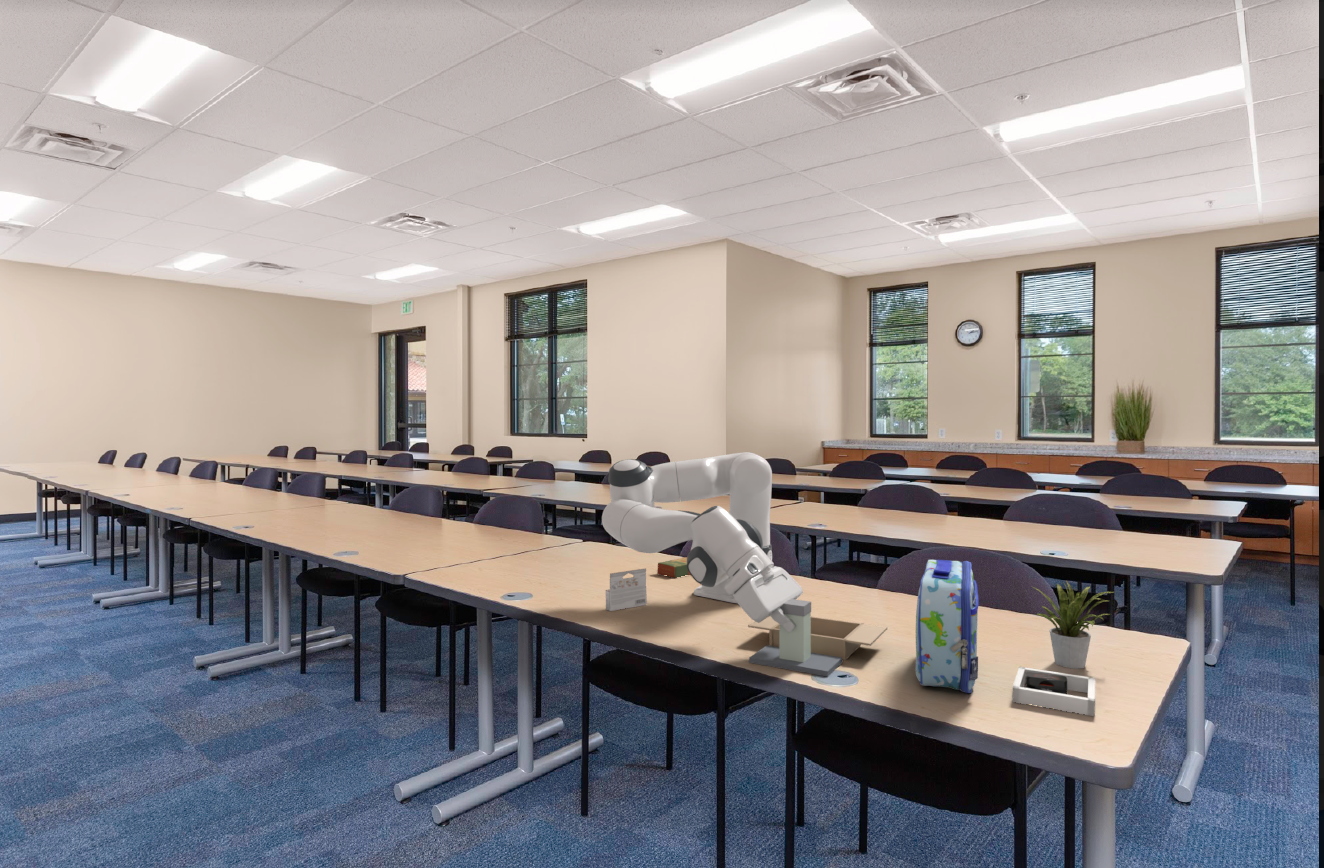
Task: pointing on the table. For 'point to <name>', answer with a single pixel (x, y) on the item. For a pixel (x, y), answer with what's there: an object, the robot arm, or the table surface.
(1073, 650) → the house plant
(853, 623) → the open cardboard box
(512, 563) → the table surface
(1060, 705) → the dish
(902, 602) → the table surface
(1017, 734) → the table surface
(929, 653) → the lunch box
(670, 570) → the carton
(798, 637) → the block
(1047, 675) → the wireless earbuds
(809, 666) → the slate mat
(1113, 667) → the table surface
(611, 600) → the ink cartridge box
